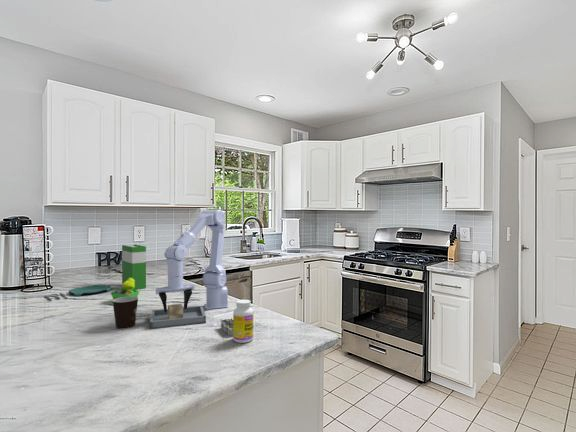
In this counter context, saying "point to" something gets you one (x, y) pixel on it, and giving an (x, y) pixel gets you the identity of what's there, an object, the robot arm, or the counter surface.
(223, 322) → the grey lumpy block
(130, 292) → the fruit basket
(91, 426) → the counter surface
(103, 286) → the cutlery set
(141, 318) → the counter surface
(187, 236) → the robot arm
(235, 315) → the supplement bottle
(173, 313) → the wooden cube
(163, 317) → the tray
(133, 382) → the counter surface
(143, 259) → the green cereal box
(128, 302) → the coffee mug
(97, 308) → the counter surface
